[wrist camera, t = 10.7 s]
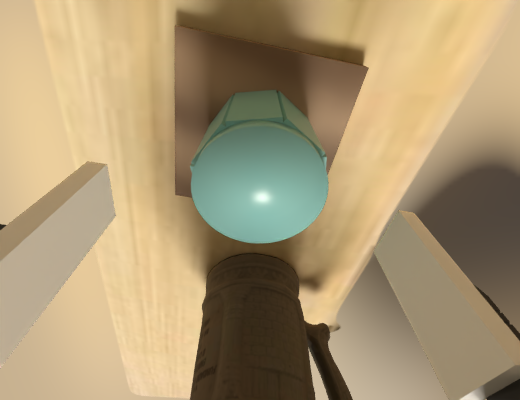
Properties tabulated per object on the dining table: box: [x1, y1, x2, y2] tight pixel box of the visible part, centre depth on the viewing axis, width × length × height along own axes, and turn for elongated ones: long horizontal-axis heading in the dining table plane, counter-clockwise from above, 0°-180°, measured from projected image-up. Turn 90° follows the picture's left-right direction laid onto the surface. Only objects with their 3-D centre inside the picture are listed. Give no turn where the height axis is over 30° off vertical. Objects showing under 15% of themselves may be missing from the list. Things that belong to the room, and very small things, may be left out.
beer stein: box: [190, 254, 353, 400], centre depth 22 cm, size 15×11×20 cm
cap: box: [190, 90, 328, 243], centre depth 16 cm, size 7×7×7 cm
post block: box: [175, 26, 368, 197], centre depth 17 cm, size 12×12×7 cm
